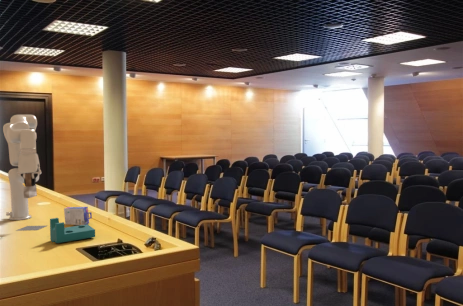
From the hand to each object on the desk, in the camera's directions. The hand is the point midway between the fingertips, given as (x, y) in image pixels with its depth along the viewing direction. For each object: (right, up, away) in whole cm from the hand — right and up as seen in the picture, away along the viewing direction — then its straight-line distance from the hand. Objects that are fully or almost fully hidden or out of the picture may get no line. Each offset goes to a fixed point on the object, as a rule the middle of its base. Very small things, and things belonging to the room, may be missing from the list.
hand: (30, 185), depth 236 cm
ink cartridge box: (+16, -18, +11) cm, 26 cm away
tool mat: (+1, -24, +1) cm, 24 cm away
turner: (0, -6, 0) cm, 6 cm away
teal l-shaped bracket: (+33, -25, -27) cm, 49 cm away
